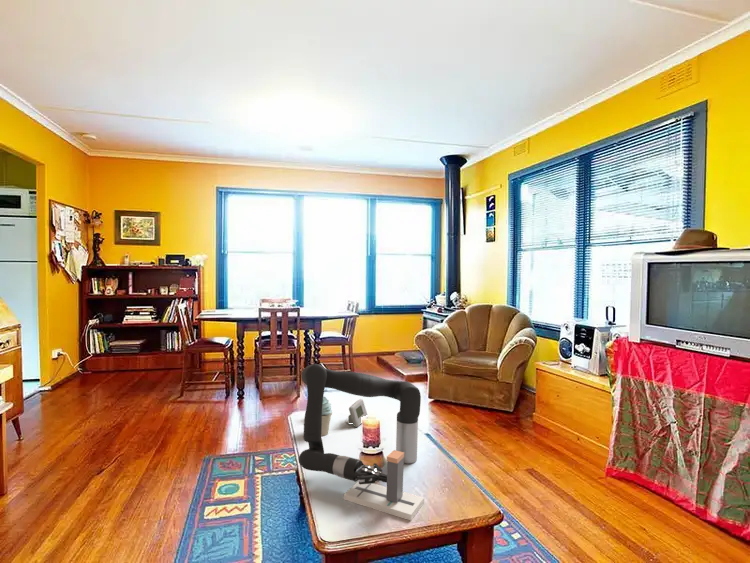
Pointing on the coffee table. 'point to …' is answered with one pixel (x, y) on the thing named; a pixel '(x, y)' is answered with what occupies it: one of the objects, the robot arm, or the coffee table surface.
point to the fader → (395, 476)
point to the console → (384, 500)
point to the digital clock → (357, 412)
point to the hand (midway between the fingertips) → (389, 479)
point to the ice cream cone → (325, 416)
